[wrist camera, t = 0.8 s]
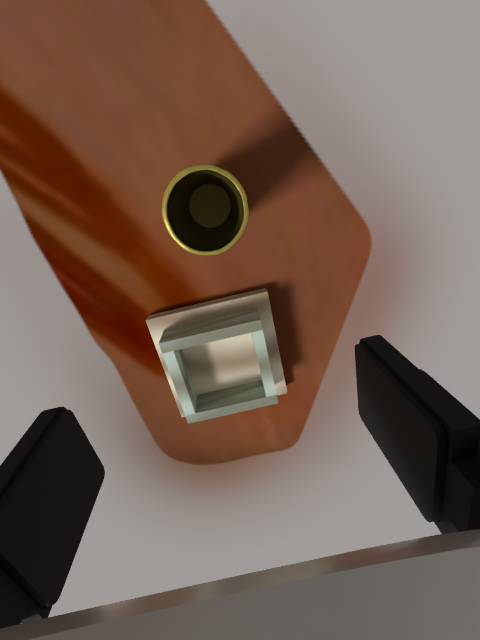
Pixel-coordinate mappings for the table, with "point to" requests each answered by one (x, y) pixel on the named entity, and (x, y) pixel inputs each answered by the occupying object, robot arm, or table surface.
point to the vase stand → (220, 355)
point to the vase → (205, 209)
